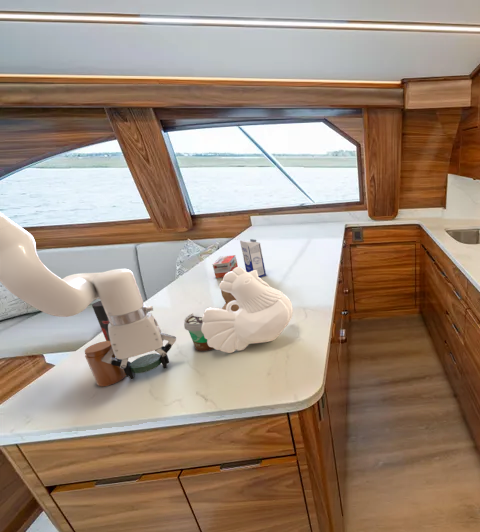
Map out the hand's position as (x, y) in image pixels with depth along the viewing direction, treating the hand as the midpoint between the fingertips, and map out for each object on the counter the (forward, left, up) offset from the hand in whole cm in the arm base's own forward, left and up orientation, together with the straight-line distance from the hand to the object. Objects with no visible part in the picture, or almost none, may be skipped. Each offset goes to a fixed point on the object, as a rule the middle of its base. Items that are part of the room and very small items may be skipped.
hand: (149, 370), depth 84 cm
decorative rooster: (+28, -1, -1) cm, 28 cm away
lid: (0, 0, +3) cm, 3 cm away
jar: (-8, +3, -1) cm, 9 cm away
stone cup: (+27, +27, -1) cm, 38 cm away
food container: (+13, +5, -1) cm, 14 cm away
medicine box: (+29, +82, -1) cm, 87 cm away
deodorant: (-9, +26, -1) cm, 28 cm away
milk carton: (+41, +66, -1) cm, 78 cm away
